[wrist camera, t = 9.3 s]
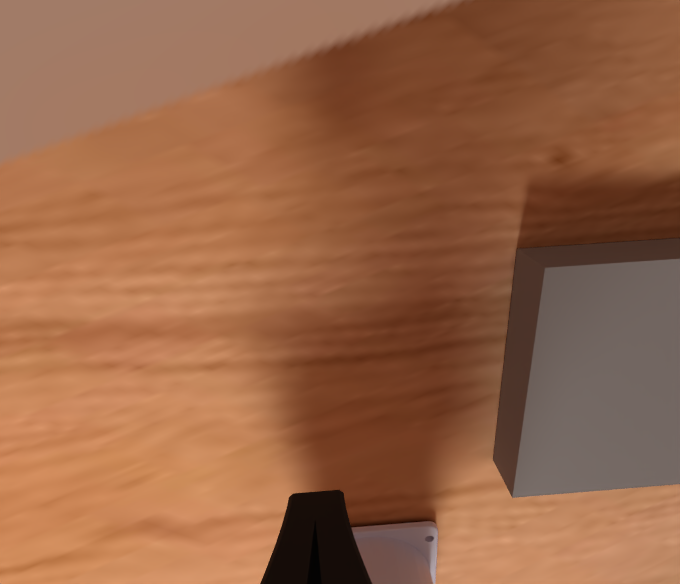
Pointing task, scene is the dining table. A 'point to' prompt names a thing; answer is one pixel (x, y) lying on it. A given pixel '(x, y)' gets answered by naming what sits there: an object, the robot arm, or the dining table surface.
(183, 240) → the dining table surface
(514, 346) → the hole deck
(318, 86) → the dining table surface
